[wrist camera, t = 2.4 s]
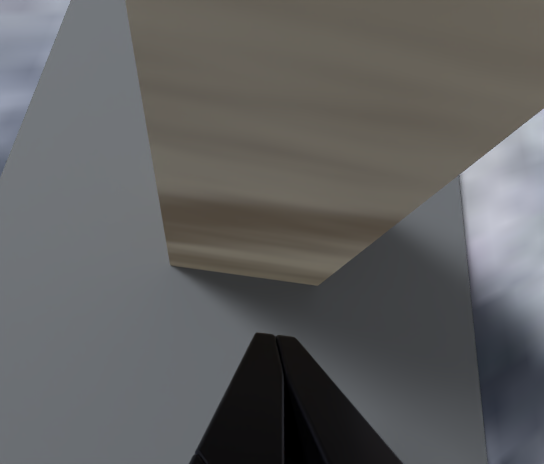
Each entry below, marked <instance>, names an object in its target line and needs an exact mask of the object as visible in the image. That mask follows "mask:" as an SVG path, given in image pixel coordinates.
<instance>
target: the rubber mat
mask: <svg viewBox="0 0 544 464" xmlns="http://www.w3.org/2000/svg"><path fill="white" fill-rule="evenodd" d="M257 332H260V333H268V334H273V335H274V336H275V337H276V336H277V335H285V336H293V337H295V338H297V339H298V341H299V342H300V343H301V344H302V345H303V346H304V348H305V349H306V350H307V351H308V352H309V353H310V355H311V356H312V357H313V358H314V359H315V361H316V362H317V363H318V364H319V365H320V366H321V368H322V369H323V370H324V371H325V372H326V373H327V375H328V376H329V377H330V378H331V379H332V380H333V382H334V383H335V384H336V385H337V386H338V387H339V389H340V390H341V391H342V392H343V393H344V394H345V396H346V397H347V398H348V399H349V400H350V402H351V403H352V404H353V405H354V406H355V407H356V409H357V410H358V411H359V412H360V413H361V414H362V416H363V417H364V418H365V419H366V420H367V421H368V423H369V424H370V425H371V426H372V427H373V428H374V430H375V431H376V432H377V433H378V434H379V435H380V437H381V438H382V439H383V440H384V441H385V442H386V444H387V445H388V446H389V447H390V448H391V450H392V451H393V452H394V453H395V454H396V455H397V457H398V458H399V459H400V460H401V461H402V462H403V464H488V463H487V453H486V443H485V433H484V423H483V413H482V403H481V393H480V383H479V373H478V363H477V354H476V344H475V334H474V324H473V314H472V304H471V294H470V284H469V274H468V264H467V254H466V244H465V235H464V225H463V215H462V205H461V195H460V185H459V175H458V176H457V177H456V178H454V179H453V180H452V181H451V182H449V183H448V184H447V185H445V186H444V187H443V188H442V189H440V190H439V191H438V192H437V193H435V194H434V195H433V196H431V197H430V198H429V199H428V200H426V201H425V202H424V203H423V204H421V205H420V206H419V207H417V208H416V209H415V210H414V211H412V212H411V213H410V214H409V215H407V216H406V217H405V218H403V219H402V220H401V221H400V222H398V223H397V224H396V225H395V226H393V227H392V228H391V229H389V230H388V231H387V232H386V233H384V234H383V235H382V236H381V237H379V238H378V239H377V240H375V241H374V242H373V243H372V244H370V245H369V246H368V247H367V248H365V249H364V250H363V251H361V252H360V253H359V254H358V255H356V256H355V257H354V258H353V259H351V260H350V261H349V262H347V263H346V264H345V265H344V266H342V267H341V268H340V269H339V270H337V271H336V272H335V273H333V274H332V275H331V276H330V277H328V278H327V279H326V280H325V281H323V282H322V283H321V284H319V285H318V286H315V285H308V284H301V283H293V282H286V281H279V280H272V279H265V278H257V277H250V276H243V275H236V274H228V273H221V272H214V271H207V270H200V269H192V268H185V267H178V266H171V265H170V262H169V256H168V250H167V244H166V238H165V233H164V227H163V221H162V215H161V209H160V203H159V197H158V191H157V185H156V180H155V174H154V168H153V162H152V156H151V150H150V144H149V138H148V133H147V127H146V121H145V115H144V109H143V103H142V97H141V91H140V85H139V80H138V74H137V68H136V62H135V56H134V50H133V44H132V38H131V33H130V27H129V21H128V15H127V9H126V3H125V0H71V1H70V4H69V6H68V9H67V11H66V14H65V16H64V19H63V21H62V24H61V26H60V29H59V31H58V34H57V37H56V39H55V42H54V44H53V47H52V49H51V52H50V54H49V57H48V59H47V62H46V64H45V67H44V69H43V72H42V74H41V77H40V79H39V82H38V84H37V87H36V89H35V92H34V94H33V97H32V99H31V102H30V104H29V107H28V109H27V112H26V114H25V117H24V119H23V122H22V124H21V127H20V129H19V132H18V134H17V137H16V139H15V142H14V144H13V147H12V150H11V152H10V155H9V157H8V160H7V162H6V165H5V167H4V170H3V172H2V175H1V177H0V464H189V462H190V460H191V458H192V456H193V455H195V451H196V449H197V447H198V445H199V443H200V441H201V439H202V437H203V435H204V433H205V431H206V429H207V427H208V425H209V423H210V421H211V419H212V417H213V415H214V413H215V411H216V409H217V407H218V405H219V403H220V401H221V399H222V397H223V396H224V394H225V392H226V390H227V388H228V386H229V384H230V382H231V380H232V378H233V376H234V374H235V372H236V370H237V368H238V366H239V364H240V362H241V360H242V358H243V356H244V354H245V352H246V350H247V348H248V346H249V344H250V342H251V340H252V338H253V336H254V334H255V333H257Z"/></svg>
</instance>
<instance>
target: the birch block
mask: <svg viewBox="0 0 544 464" xmlns="http://www.w3.org/2000/svg"><path fill="white" fill-rule="evenodd" d="M125 3H126V9H127V15H128V21H129V27H130V33H131V38H132V44H133V50H134V56H135V62H136V68H137V74H138V80H139V85H140V91H141V97H142V103H143V109H144V115H145V121H146V127H147V133H148V138H149V144H150V150H151V156H152V162H153V168H154V174H155V180H156V185H157V191H158V197H159V203H160V209H161V215H162V221H163V227H164V233H165V238H166V244H167V250H168V256H169V262H170V265H171V266H178V267H185V268H192V269H200V270H207V271H214V272H221V273H228V274H236V275H243V276H250V277H257V278H265V279H272V280H279V281H286V282H293V283H301V284H308V285H315V286H318V285H319V284H321V283H322V282H323V281H325V280H326V279H327V278H328V277H330V276H331V275H332V274H333V273H335V272H336V271H337V270H339V269H340V268H341V267H342V266H344V265H345V264H346V263H347V262H349V261H350V260H351V259H353V258H354V257H355V256H356V255H358V254H359V253H360V252H361V251H363V250H364V249H365V248H367V247H368V246H369V245H370V244H372V243H373V242H374V241H375V240H377V239H378V238H379V237H381V236H382V235H383V234H384V233H386V232H387V231H388V230H389V229H391V228H392V227H393V226H395V225H396V224H397V223H398V222H400V221H401V220H402V219H403V218H405V217H406V216H407V215H409V214H410V213H411V212H412V211H414V210H415V209H416V208H417V207H419V206H420V205H421V204H423V203H424V202H425V201H426V200H428V199H429V198H430V197H431V196H433V195H434V194H435V193H437V192H438V191H439V190H440V189H442V188H443V187H444V186H445V185H447V184H448V183H449V182H451V181H452V180H453V179H454V178H456V177H457V176H458V175H459V174H461V173H462V172H463V171H465V170H466V169H467V168H468V167H470V166H471V165H472V164H473V163H475V162H476V161H477V160H479V159H480V158H481V157H482V156H484V155H485V154H486V153H487V152H489V151H490V150H491V149H493V148H494V147H495V146H496V145H498V144H499V143H500V142H501V141H503V140H504V139H505V138H507V137H508V136H509V135H510V134H512V133H513V132H514V131H515V130H517V129H518V128H519V127H521V126H522V125H523V124H524V123H526V122H527V121H528V120H529V119H531V118H532V117H533V116H535V115H536V114H537V113H538V112H540V111H541V110H542V109H543V108H544V0H125Z"/></svg>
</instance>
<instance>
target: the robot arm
mask: <svg viewBox="0 0 544 464" xmlns="http://www.w3.org/2000/svg"><path fill="white" fill-rule="evenodd" d="M189 464H403V462H402V461H401V460H400V459H399V458H398V457H397V455H396V454H395V453H394V452H393V451H392V450H391V448H390V447H389V446H388V445H387V444H386V442H385V441H384V440H383V439H382V438H381V437H380V435H379V434H378V433H377V432H376V431H375V430H374V428H373V427H372V426H371V425H370V424H369V423H368V421H367V420H366V419H365V418H364V417H363V416H362V414H361V413H360V412H359V411H358V410H357V409H356V407H355V406H354V405H353V404H352V403H351V402H350V400H349V399H348V398H347V397H346V396H345V394H344V393H343V392H342V391H341V390H340V389H339V387H338V386H337V385H336V384H335V383H334V382H333V380H332V379H331V378H330V377H329V376H328V375H327V373H326V372H325V371H324V370H323V369H322V368H321V366H320V365H319V364H318V363H317V362H316V361H315V359H314V358H313V357H312V356H311V355H310V353H309V352H308V351H307V350H306V349H305V348H304V346H303V345H302V344H301V343H300V342H299V341H298V339H297V338H295V337H293V336H285V335H277V336H276V337H275V336H274V335H273V334H268V333H260V332H257V333H255V334H254V336H253V338H252V340H251V342H250V344H249V346H248V348H247V350H246V352H245V354H244V356H243V358H242V360H241V362H240V364H239V366H238V368H237V370H236V372H235V374H234V376H233V378H232V380H231V382H230V384H229V386H228V388H227V390H226V392H225V394H224V396H223V397H222V399H221V401H220V403H219V405H218V407H217V409H216V411H215V413H214V415H213V417H212V419H211V421H210V423H209V425H208V427H207V429H206V431H205V433H204V435H203V437H202V439H201V441H200V443H199V445H198V447H197V449H196V451H195V455H193V456H192V458H191V460H190V462H189Z"/></svg>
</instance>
